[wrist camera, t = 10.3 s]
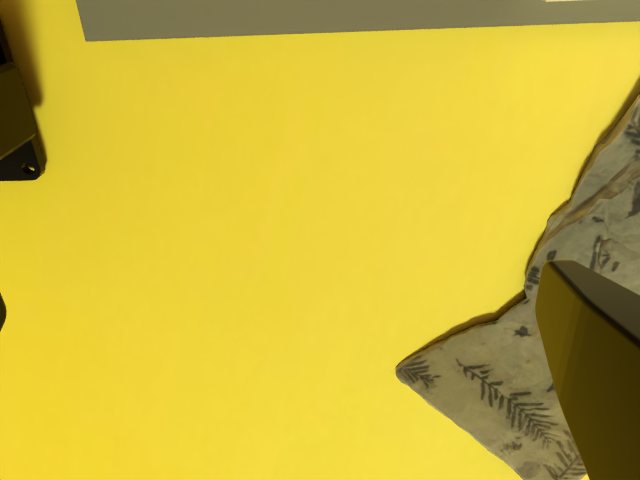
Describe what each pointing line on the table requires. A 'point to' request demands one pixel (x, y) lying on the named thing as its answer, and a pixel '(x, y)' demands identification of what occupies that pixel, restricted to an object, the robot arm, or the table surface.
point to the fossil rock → (522, 329)
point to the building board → (330, 16)
